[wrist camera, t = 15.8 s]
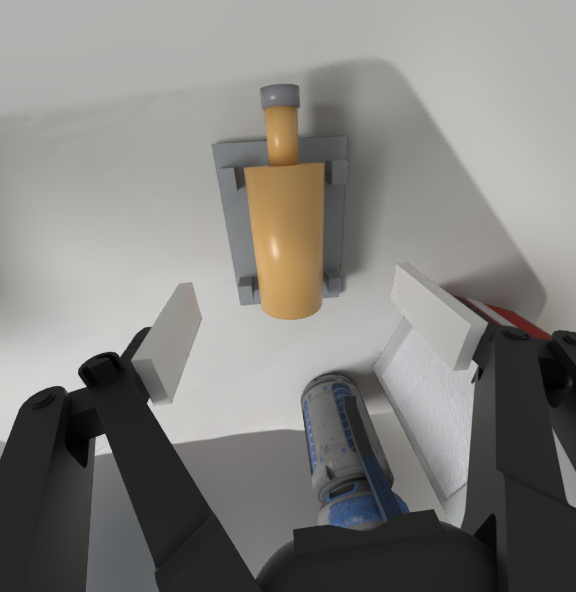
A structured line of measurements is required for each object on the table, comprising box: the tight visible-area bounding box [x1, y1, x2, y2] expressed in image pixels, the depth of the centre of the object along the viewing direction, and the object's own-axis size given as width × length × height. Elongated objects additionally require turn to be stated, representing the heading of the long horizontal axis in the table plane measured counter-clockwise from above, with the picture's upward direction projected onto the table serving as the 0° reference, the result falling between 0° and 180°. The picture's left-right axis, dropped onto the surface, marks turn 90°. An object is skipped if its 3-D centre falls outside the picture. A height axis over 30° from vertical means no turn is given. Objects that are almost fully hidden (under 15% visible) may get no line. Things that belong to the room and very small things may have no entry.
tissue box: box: [373, 297, 576, 528], centre depth 28 cm, size 16×18×27 cm
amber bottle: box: [244, 84, 325, 320], centre depth 24 cm, size 19×7×7 cm, turn 3°
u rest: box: [212, 136, 349, 305], centre depth 27 cm, size 18×13×4 cm
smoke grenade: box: [301, 375, 410, 532], centre depth 32 cm, size 10×13×25 cm
